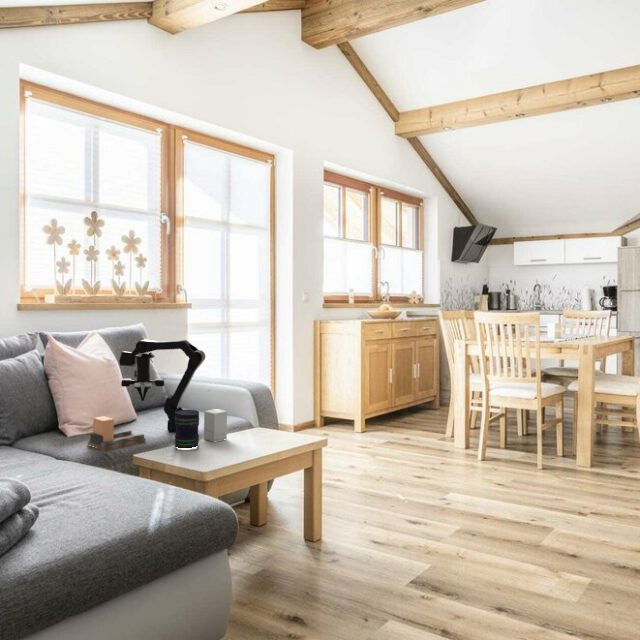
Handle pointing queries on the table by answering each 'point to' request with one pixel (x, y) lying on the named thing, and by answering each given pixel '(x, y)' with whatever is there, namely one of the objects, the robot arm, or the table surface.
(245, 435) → the table surface
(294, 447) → the table surface
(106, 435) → the terracotta block
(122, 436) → the walnut chute
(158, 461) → the table surface
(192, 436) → the storage jar
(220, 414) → the supplement box
